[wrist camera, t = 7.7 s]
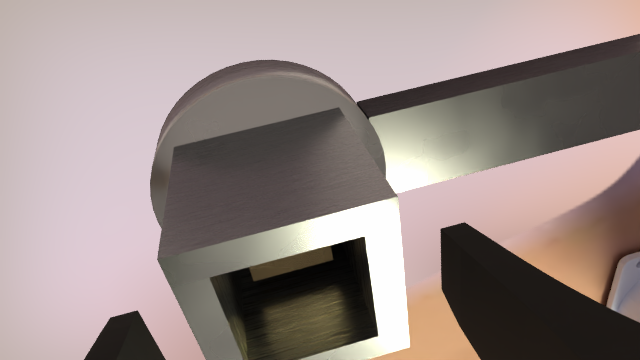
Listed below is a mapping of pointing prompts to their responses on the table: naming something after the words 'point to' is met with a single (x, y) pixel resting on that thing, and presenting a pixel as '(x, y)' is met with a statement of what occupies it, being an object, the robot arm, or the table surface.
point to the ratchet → (421, 117)
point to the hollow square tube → (285, 243)
